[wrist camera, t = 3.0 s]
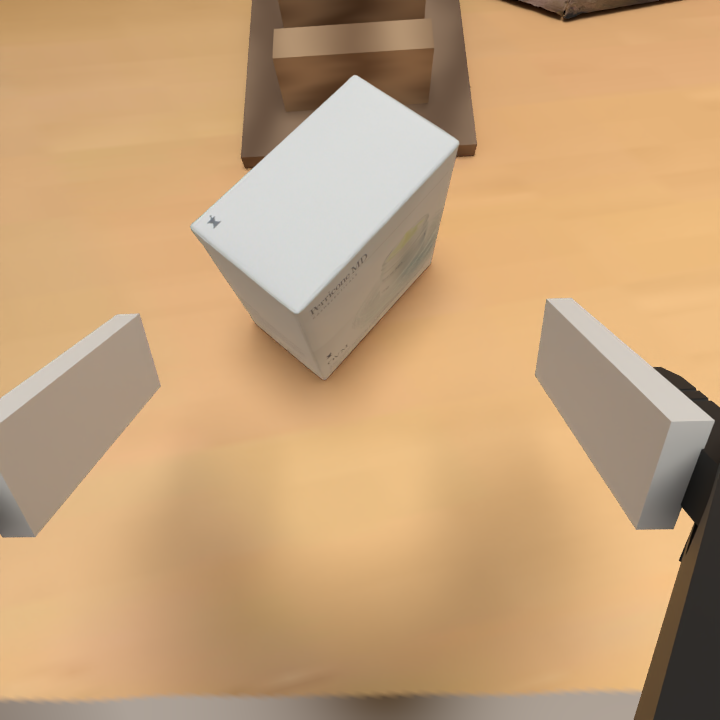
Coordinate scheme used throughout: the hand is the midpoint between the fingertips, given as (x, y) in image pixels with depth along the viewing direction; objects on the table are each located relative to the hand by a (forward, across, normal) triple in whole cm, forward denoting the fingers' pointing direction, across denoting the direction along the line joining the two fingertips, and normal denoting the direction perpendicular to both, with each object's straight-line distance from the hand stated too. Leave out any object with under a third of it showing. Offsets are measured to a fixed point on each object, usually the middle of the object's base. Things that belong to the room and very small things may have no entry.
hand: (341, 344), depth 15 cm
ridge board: (+26, 0, +10) cm, 28 cm away
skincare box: (+14, -1, -3) cm, 14 cm away
